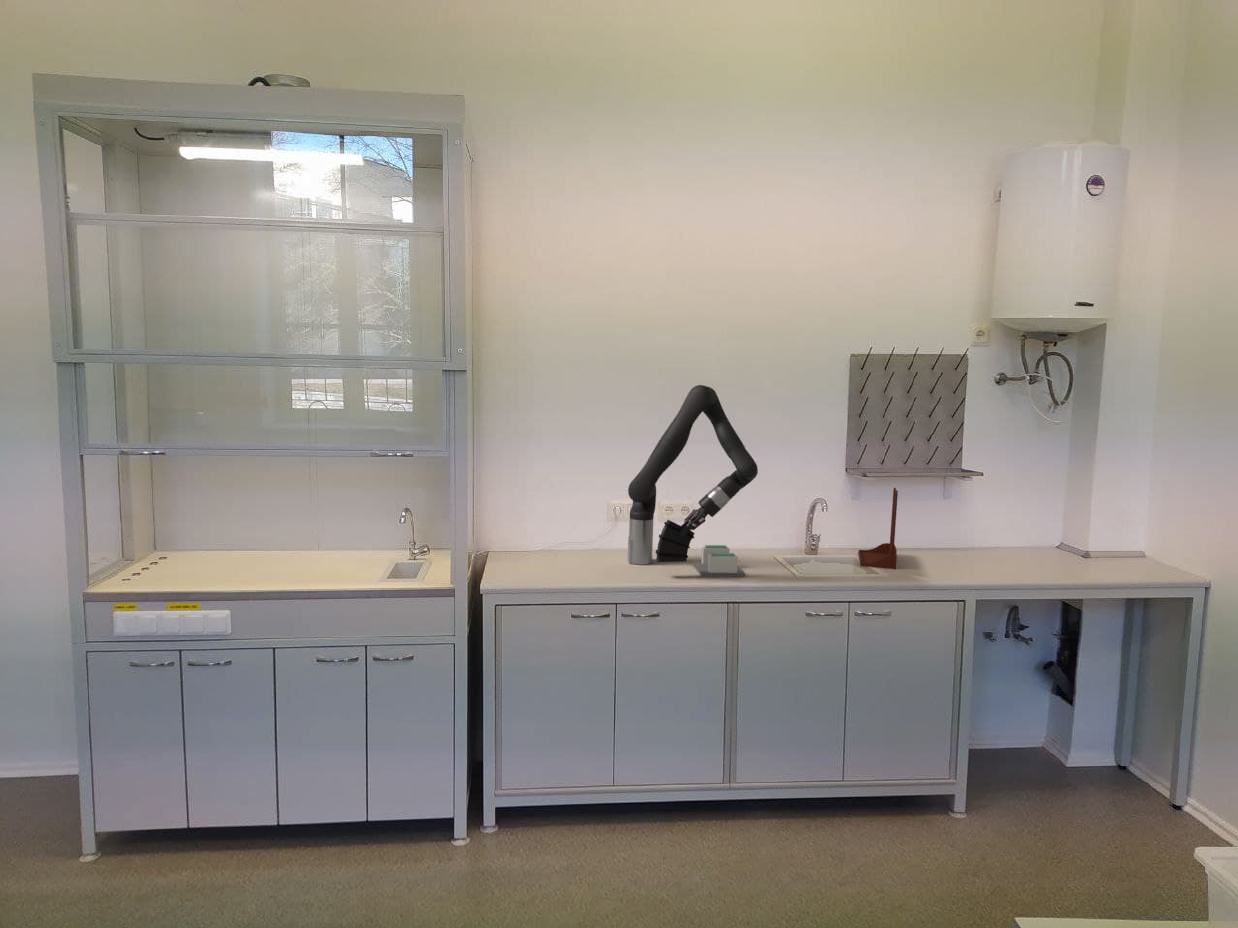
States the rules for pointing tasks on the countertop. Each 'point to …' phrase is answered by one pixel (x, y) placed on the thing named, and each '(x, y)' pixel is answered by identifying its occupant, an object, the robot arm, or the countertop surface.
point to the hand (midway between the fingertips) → (679, 533)
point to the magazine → (673, 543)
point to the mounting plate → (718, 562)
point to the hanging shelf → (882, 547)
